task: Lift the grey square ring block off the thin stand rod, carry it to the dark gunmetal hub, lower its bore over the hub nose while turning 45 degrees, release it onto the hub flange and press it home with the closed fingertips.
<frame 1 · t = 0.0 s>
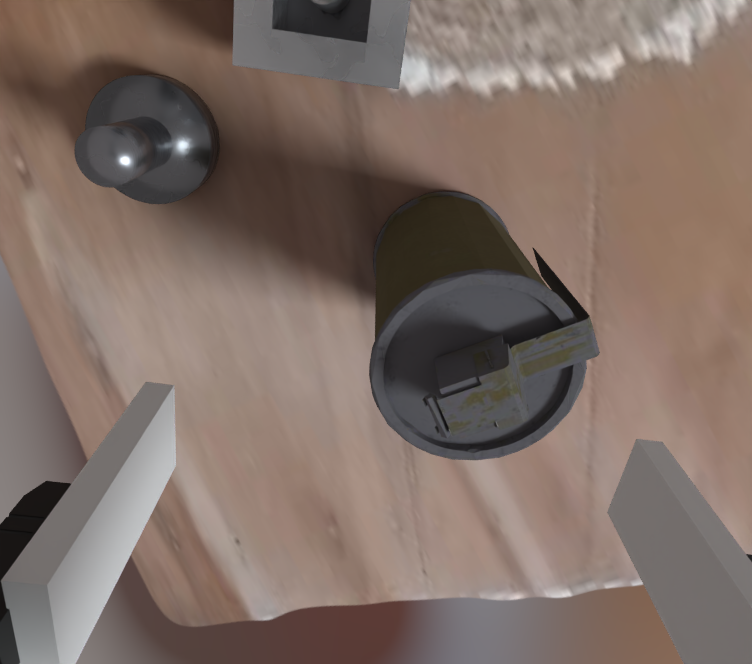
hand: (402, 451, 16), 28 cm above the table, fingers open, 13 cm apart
canister: (444, 258, 43), on the table
hub: (161, 138, 39), on the table
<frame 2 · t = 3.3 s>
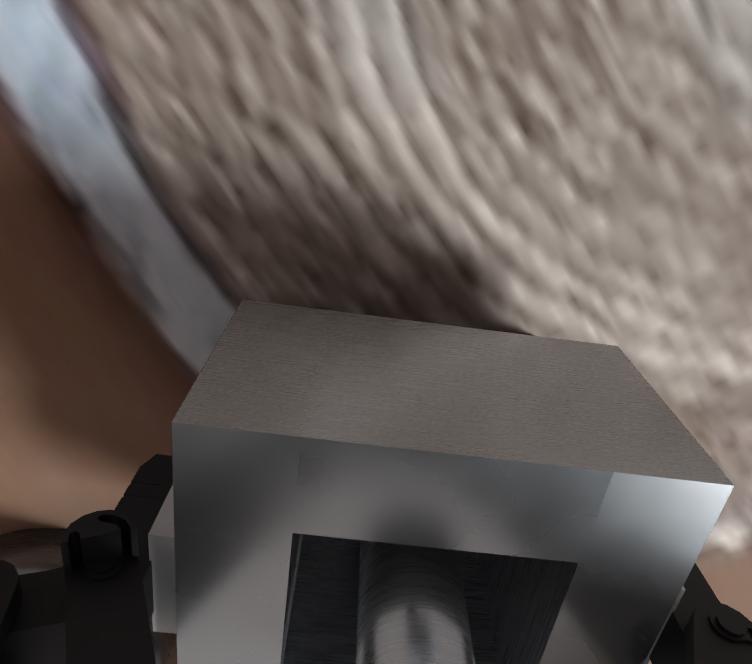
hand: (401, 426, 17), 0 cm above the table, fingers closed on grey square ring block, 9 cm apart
grey square ring block: (404, 473, 15), point 3 cm above the table, touching gripper, stand
stand: (401, 421, 18), on the table
hub: (70, 609, 21), on the table
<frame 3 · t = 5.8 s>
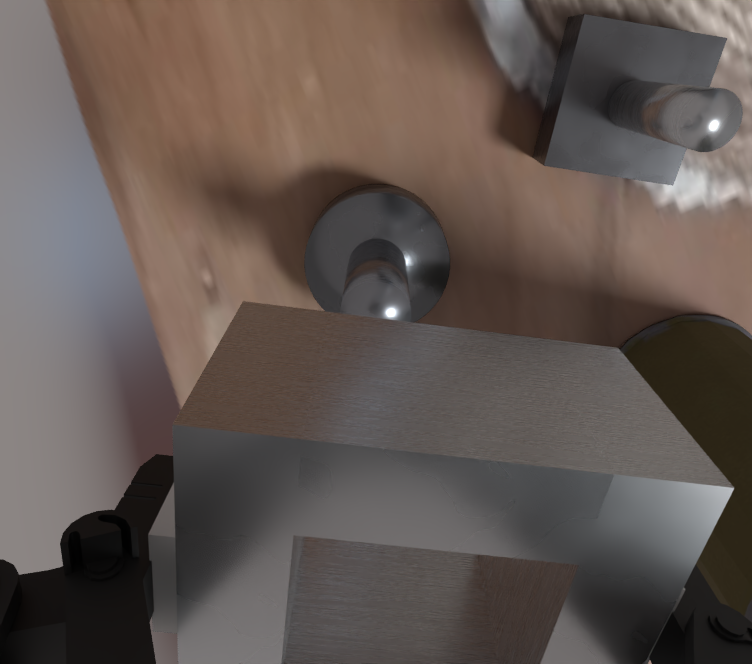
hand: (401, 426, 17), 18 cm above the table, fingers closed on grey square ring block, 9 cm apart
grey square ring block: (404, 474, 15), point 20 cm above the table, touching gripper
stand: (612, 101, 30), on the table
canister: (680, 383, 38), on the table
hub: (377, 252, 34), on the table
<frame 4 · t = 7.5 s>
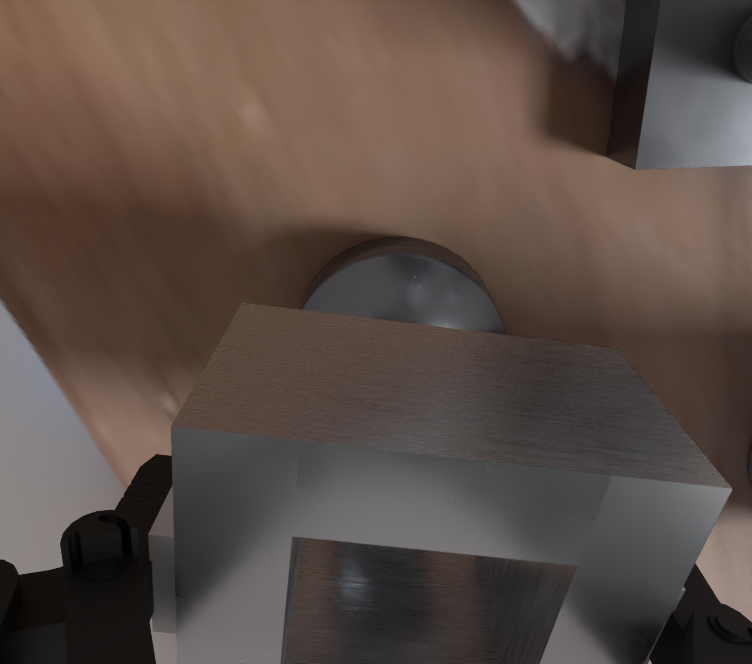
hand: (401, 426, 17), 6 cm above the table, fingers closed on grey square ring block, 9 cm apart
grey square ring block: (403, 475, 15), point 9 cm above the table, touching gripper
stand: (725, 45, 19), on the table
hub: (396, 332, 23), on the table
when the fingers open (2 cm above the table, at t = 8.8 s): grey square ring block drops 2 cm, resting on hub.
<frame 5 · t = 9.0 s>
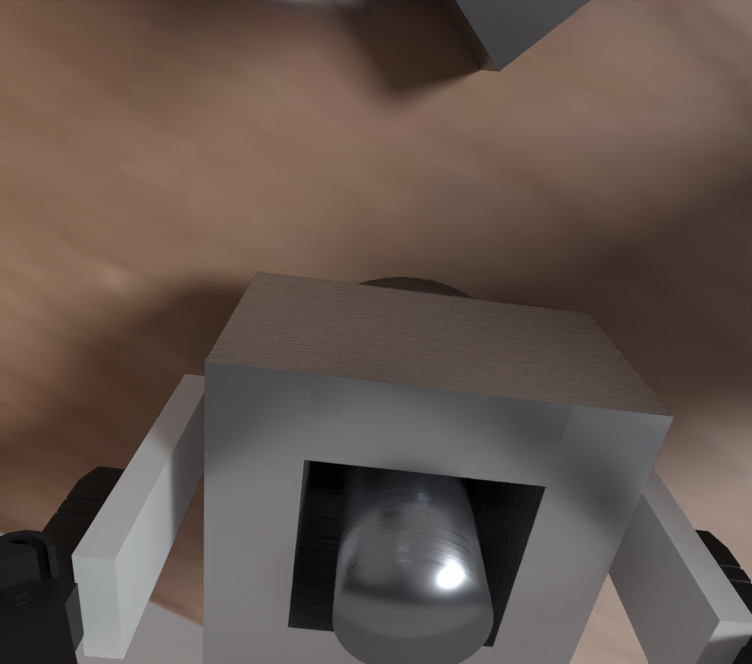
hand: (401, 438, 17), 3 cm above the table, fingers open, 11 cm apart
grey square ring block: (400, 430, 17), point 2 cm above the table, touching hub
hub: (399, 387, 19), on the table
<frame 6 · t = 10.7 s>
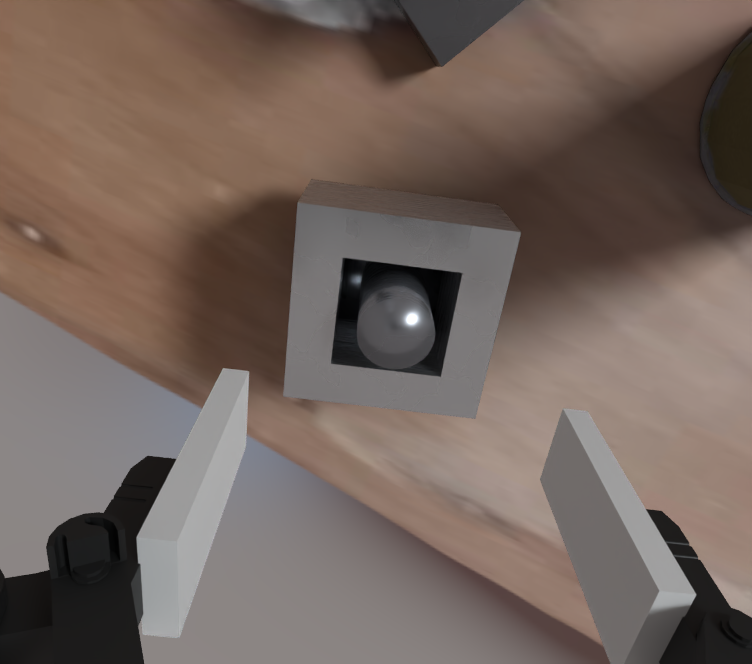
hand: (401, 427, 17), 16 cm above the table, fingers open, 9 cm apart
grey square ring block: (391, 279, 29), point 2 cm above the table, touching hub
hub: (391, 264, 31), on the table
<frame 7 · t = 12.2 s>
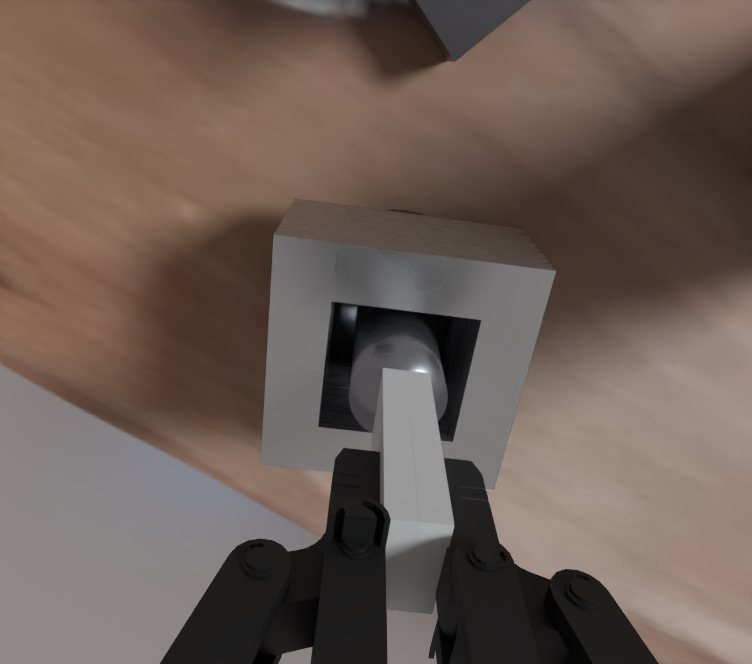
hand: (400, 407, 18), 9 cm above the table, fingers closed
grey square ring block: (392, 316, 24), point 2 cm above the table, touching hub
hub: (392, 294, 27), on the table
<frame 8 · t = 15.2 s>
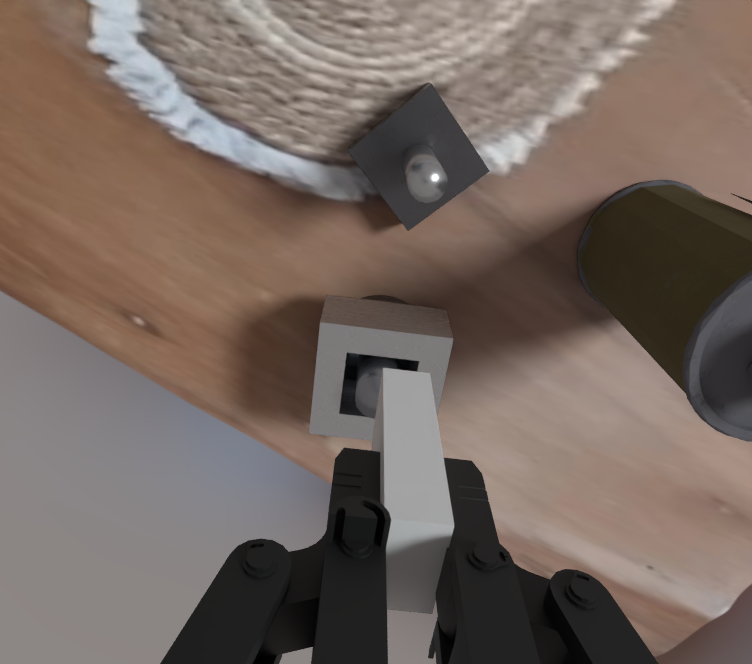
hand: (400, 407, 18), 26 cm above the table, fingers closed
grey square ring block: (378, 354, 45), point 2 cm above the table, touching hub
stand: (416, 155, 41), on the table
canister: (646, 245, 43), on the table
hub: (379, 340, 47), on the table
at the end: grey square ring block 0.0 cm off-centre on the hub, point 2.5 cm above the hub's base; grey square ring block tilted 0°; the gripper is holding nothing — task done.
